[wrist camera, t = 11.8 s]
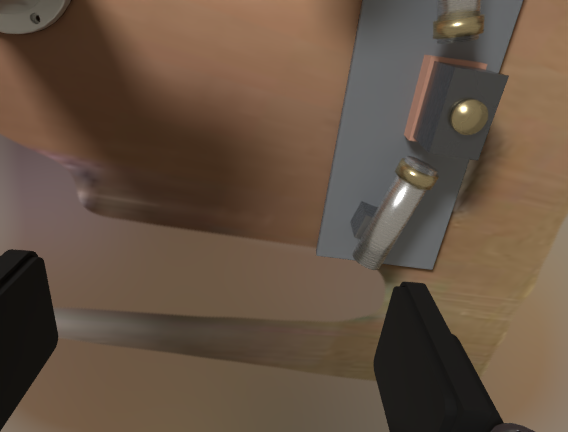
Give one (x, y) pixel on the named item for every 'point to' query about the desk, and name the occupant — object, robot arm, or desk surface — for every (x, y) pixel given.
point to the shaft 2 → (458, 21)
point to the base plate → (400, 121)
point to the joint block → (458, 110)
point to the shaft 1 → (390, 212)
